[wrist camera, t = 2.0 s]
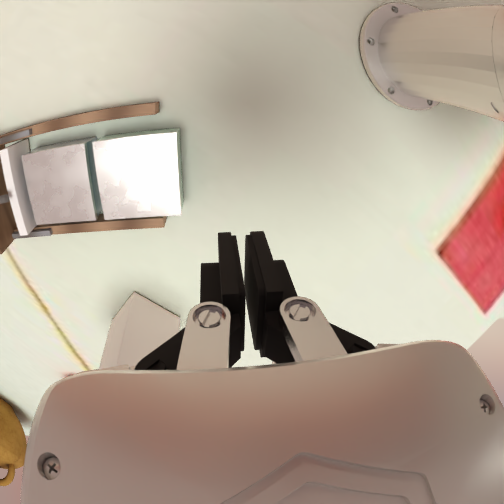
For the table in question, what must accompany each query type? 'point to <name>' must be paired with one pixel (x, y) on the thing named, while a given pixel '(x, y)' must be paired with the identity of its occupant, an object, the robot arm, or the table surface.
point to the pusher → (18, 185)
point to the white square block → (63, 182)
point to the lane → (5, 228)
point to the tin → (139, 174)
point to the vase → (10, 442)
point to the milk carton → (137, 332)
